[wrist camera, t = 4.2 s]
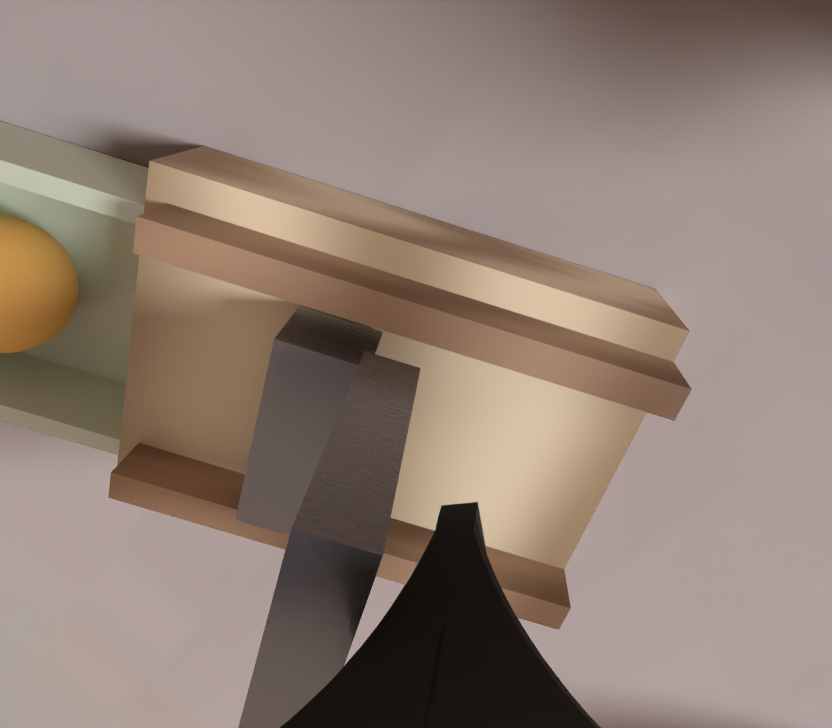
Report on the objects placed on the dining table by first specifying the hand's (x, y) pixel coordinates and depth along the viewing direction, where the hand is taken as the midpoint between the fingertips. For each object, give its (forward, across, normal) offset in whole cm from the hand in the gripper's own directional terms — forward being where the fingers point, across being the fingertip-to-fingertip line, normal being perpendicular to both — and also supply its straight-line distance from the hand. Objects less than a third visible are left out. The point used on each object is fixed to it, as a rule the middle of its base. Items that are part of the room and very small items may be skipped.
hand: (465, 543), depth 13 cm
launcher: (+6, +2, -1) cm, 7 cm away
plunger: (+3, +3, -2) cm, 5 cm away
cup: (+6, +10, -6) cm, 14 cm away
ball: (+4, +11, -6) cm, 13 cm away
